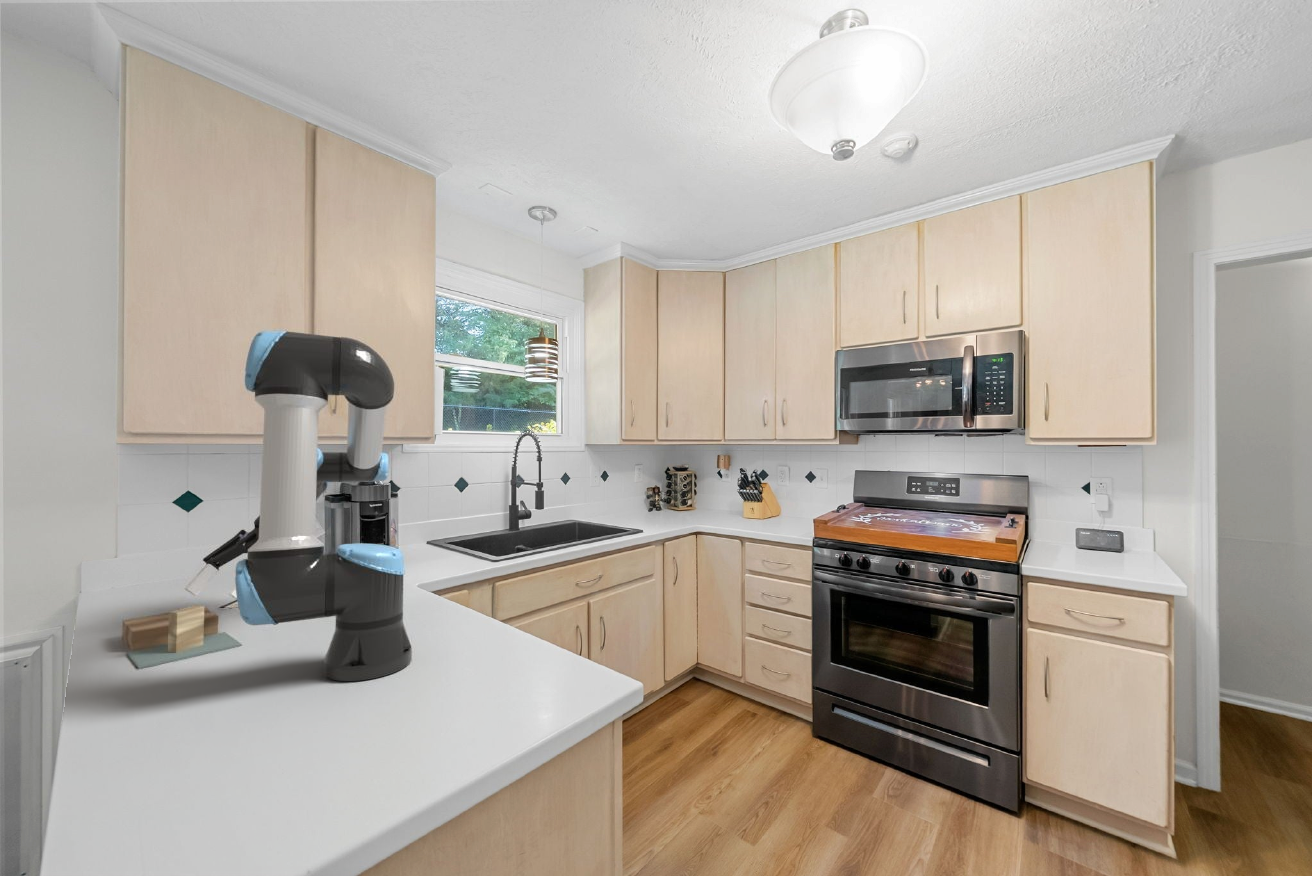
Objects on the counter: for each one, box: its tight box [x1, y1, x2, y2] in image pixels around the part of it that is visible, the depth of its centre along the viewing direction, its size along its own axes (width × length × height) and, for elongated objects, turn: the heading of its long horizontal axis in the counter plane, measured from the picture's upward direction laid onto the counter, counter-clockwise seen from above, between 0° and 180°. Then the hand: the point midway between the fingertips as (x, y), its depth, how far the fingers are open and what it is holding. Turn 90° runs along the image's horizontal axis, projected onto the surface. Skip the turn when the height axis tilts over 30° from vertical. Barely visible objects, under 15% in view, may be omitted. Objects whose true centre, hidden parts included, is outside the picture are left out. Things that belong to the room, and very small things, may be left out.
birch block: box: [168, 605, 205, 653], centre depth 112 cm, size 2×5×8 cm, turn 162°
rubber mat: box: [126, 631, 243, 670], centre depth 112 cm, size 12×16×1 cm
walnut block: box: [121, 606, 219, 651], centre depth 120 cm, size 12×14×4 cm
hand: (211, 594), depth 118 cm, fingers open, 13 cm apart
